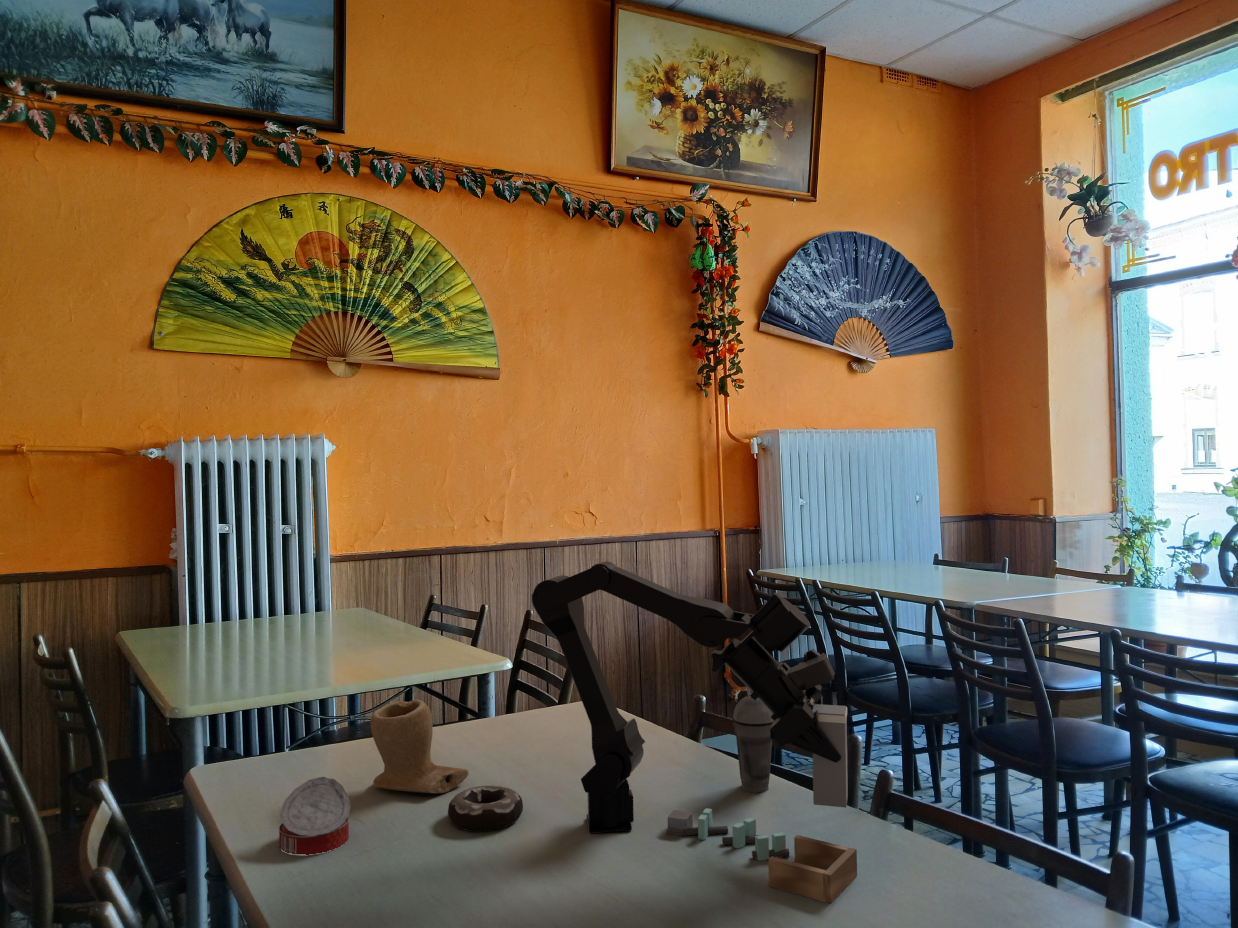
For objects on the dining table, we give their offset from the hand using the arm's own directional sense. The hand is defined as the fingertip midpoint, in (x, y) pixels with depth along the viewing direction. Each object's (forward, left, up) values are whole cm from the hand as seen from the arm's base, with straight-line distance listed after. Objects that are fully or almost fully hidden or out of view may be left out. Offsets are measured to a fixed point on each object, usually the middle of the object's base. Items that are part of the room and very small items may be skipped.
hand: (839, 754), depth 127 cm
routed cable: (-15, +3, -13) cm, 20 cm away
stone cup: (-64, +33, -14) cm, 74 cm away
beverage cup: (-6, +25, -14) cm, 30 cm away
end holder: (-7, -9, -13) cm, 17 cm away
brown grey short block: (-22, +10, -13) cm, 27 cm away
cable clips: (-14, +4, -13) cm, 20 cm away
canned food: (-76, +13, -14) cm, 79 cm away
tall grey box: (-1, +1, -7) cm, 7 cm away
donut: (-51, +18, -14) cm, 56 cm away
